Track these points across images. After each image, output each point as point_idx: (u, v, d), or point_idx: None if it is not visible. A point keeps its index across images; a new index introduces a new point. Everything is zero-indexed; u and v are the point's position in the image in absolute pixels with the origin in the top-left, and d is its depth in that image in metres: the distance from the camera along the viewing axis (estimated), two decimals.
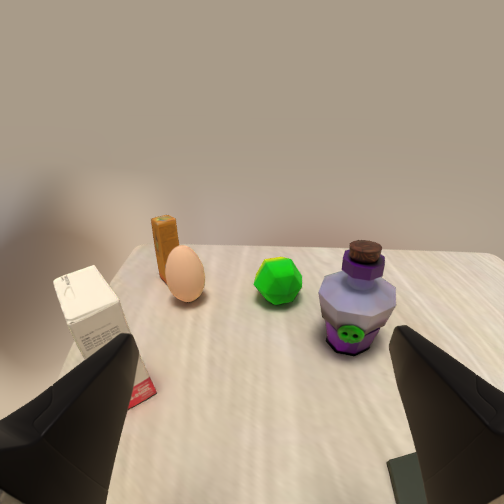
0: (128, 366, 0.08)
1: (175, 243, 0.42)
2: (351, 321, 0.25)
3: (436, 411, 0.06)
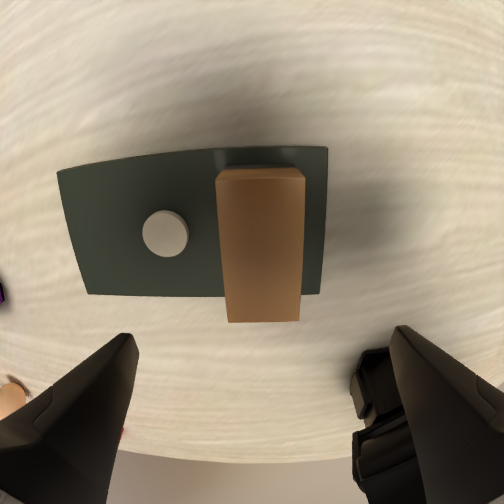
0: (128, 366, 0.08)
1: None
2: None
3: (436, 411, 0.06)
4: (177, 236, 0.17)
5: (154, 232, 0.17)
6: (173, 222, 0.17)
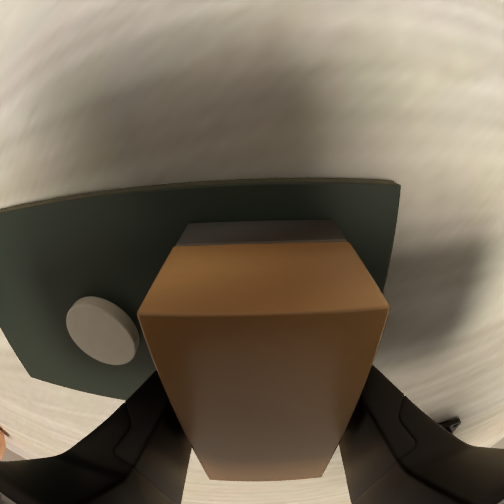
0: None
1: None
2: None
3: (356, 431, 0.06)
4: (118, 341, 0.09)
5: (83, 331, 0.09)
6: (107, 321, 0.09)
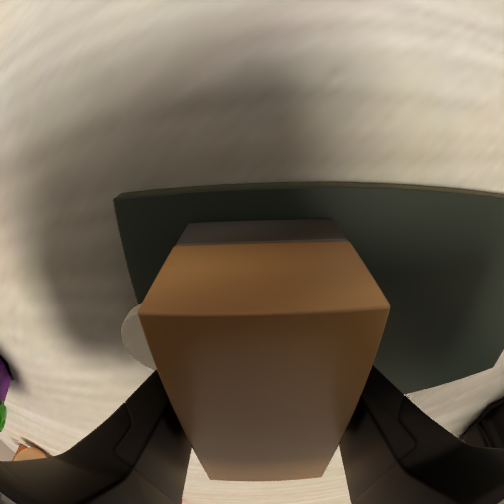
0: None
1: None
2: None
3: (356, 430, 0.06)
4: None
5: (141, 339, 0.09)
6: None
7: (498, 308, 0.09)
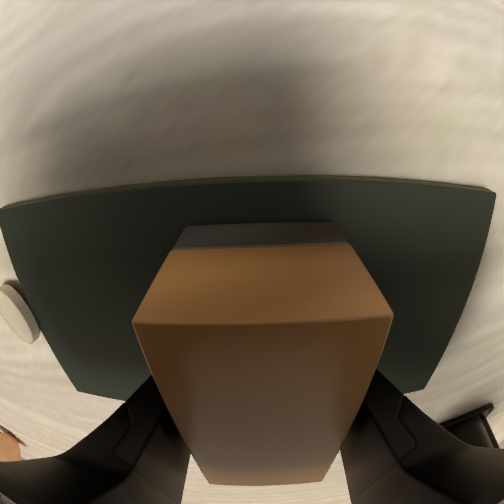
0: None
1: None
2: None
3: (356, 430, 0.06)
4: (21, 324, 0.09)
5: (4, 311, 0.09)
6: (11, 306, 0.09)
7: (406, 324, 0.09)
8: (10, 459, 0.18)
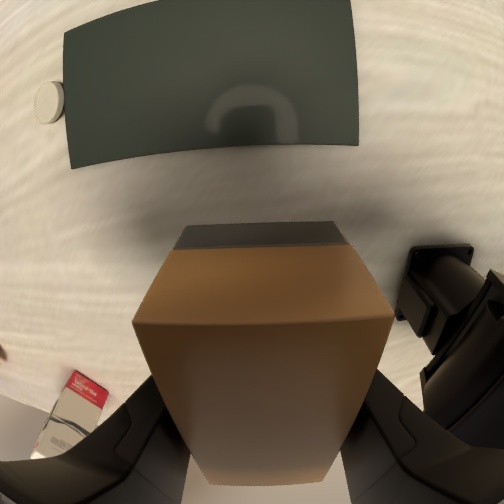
0: None
1: None
2: None
3: (356, 431, 0.06)
4: (52, 100, 0.13)
5: (39, 102, 0.13)
6: (50, 88, 0.12)
7: (308, 61, 0.13)
8: None
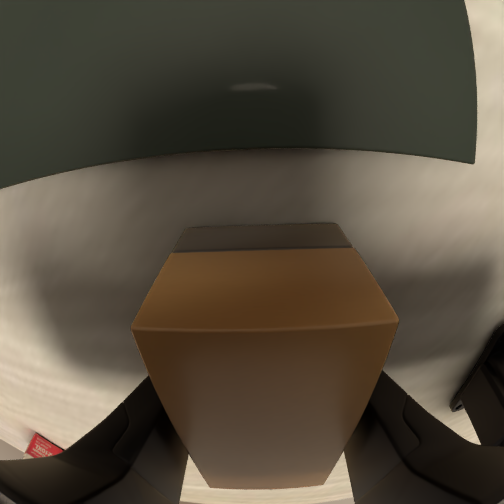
0: None
1: None
2: None
3: (360, 430, 0.06)
4: None
5: None
6: None
7: None
8: None
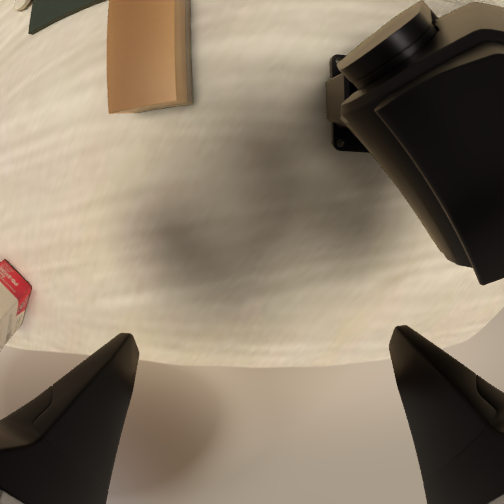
0: (128, 366, 0.08)
1: None
2: None
3: (436, 411, 0.06)
4: None
5: None
6: None
7: None
8: None
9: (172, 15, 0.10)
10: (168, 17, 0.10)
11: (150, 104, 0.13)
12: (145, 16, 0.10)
